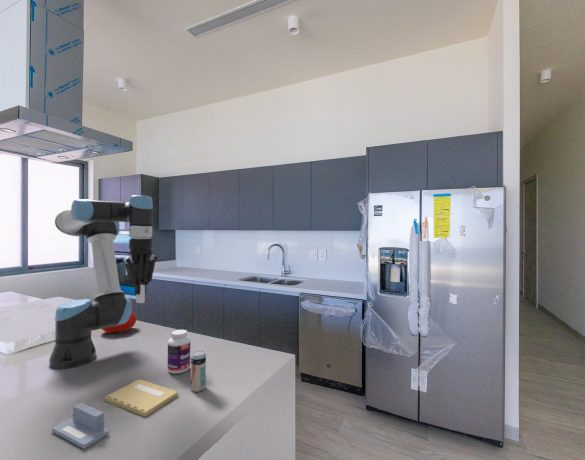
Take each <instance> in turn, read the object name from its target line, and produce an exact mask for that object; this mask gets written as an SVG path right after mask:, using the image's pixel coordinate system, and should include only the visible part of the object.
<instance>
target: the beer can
mask: <svg viewBox="0 0 585 460" xmlns="http://www.w3.org/2000/svg"><path fill="white" fill-rule="evenodd" d="M206 369H207V355H206V353H205V351H204V350H197V351H193V353H192V354H191V355H190V391H192V392H195V393H196V392H197V393H198V392H202V391H203V390H205V388H206V386H207V385H206V382H207V381H206V380H207V379H206V377H207V375H206V374H207V373H206V371H207V370H206Z"/></svg>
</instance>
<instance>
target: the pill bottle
mask: <svg viewBox="0 0 585 460" xmlns="http://www.w3.org/2000/svg"><path fill="white" fill-rule="evenodd" d="M189 369H191V338H190V337H189V336H188V330H186V329H175V330H173V331H172V332H171V337H170V338H169V339H168V341H167V372H168V373H170V374H173V375H174V374H176V375H177V374H183V373H185V372H187V371H188V370H189Z"/></svg>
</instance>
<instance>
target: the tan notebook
mask: <svg viewBox="0 0 585 460" xmlns="http://www.w3.org/2000/svg"><path fill="white" fill-rule="evenodd" d="M178 396H179V394H178V391H177V390H173V389H171V388H168V387H164V386H160V385H158V384H156V383H152V382H149V381H146V380H144V379H136V380H135V381H132V382H130V383H129V384H127V385H125V386H124V387H120V389H118V390H115V391H113V392H111V393H109V394H107V395H105V396H104V401H106V402H108V403H110V404H113V405H115V406H118V407H120V408H123V409H124V410H127V411H130V412H133V413H135V414H137V415H140V416H142V417H144V418H145V417H147V416H149V415H150V414H152V413H153V412H155V411H156V410H157V409H159V408H161V407H162V406H165V404H167V403H168V402H170V401H171V400H173V399H175V398H176V397H178Z"/></svg>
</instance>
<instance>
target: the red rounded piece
mask: <svg viewBox="0 0 585 460" xmlns="http://www.w3.org/2000/svg"><path fill="white" fill-rule="evenodd" d="M136 323H137V317H136V315H135V314H134V313H133V312H132V311H131V315H130V318H129V320H128V321H127V322H126V323H124V324H120V325H117V326H111V327H106V328H102V329H101V330H102V331H103V332H106V333H109V334H114V333H123V332H126V331H127V330H130V329H131V328H133V327H134V326H135V325H136Z"/></svg>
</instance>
